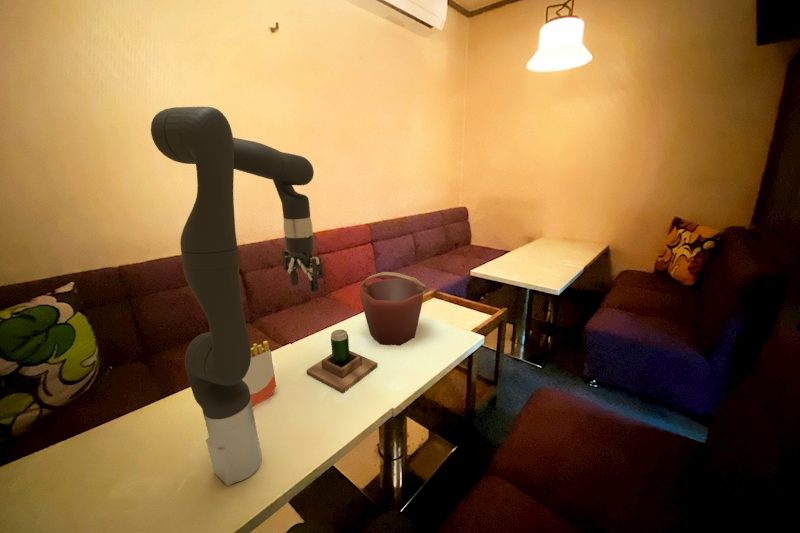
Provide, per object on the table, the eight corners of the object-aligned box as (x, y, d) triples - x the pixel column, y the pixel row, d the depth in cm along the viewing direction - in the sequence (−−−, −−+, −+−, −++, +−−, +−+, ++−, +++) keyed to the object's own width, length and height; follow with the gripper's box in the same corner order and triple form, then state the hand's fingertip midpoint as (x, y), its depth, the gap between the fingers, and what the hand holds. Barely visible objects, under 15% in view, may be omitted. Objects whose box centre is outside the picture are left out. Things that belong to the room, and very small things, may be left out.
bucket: (434, 330, 137) (436, 270, 128) (404, 359, 119) (404, 291, 111) (383, 315, 149) (381, 259, 141) (349, 339, 132) (344, 276, 123)
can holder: (342, 393, 103) (341, 380, 101) (306, 374, 112) (305, 362, 110) (377, 366, 115) (377, 354, 114) (342, 351, 124) (341, 339, 122)
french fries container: (233, 404, 99) (222, 349, 93) (270, 386, 106) (261, 334, 100) (240, 412, 96) (228, 356, 90) (277, 393, 103) (269, 340, 97)
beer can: (337, 373, 109) (334, 339, 105) (330, 365, 114) (327, 332, 110) (353, 367, 112) (350, 334, 108) (346, 359, 116) (343, 327, 112)
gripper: (271, 232, 97) (278, 286, 103) (304, 240, 89) (310, 298, 95) (293, 227, 103) (299, 279, 108) (327, 234, 95) (331, 289, 100)
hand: (304, 288), depth 102 cm, fingers open, 8 cm apart
